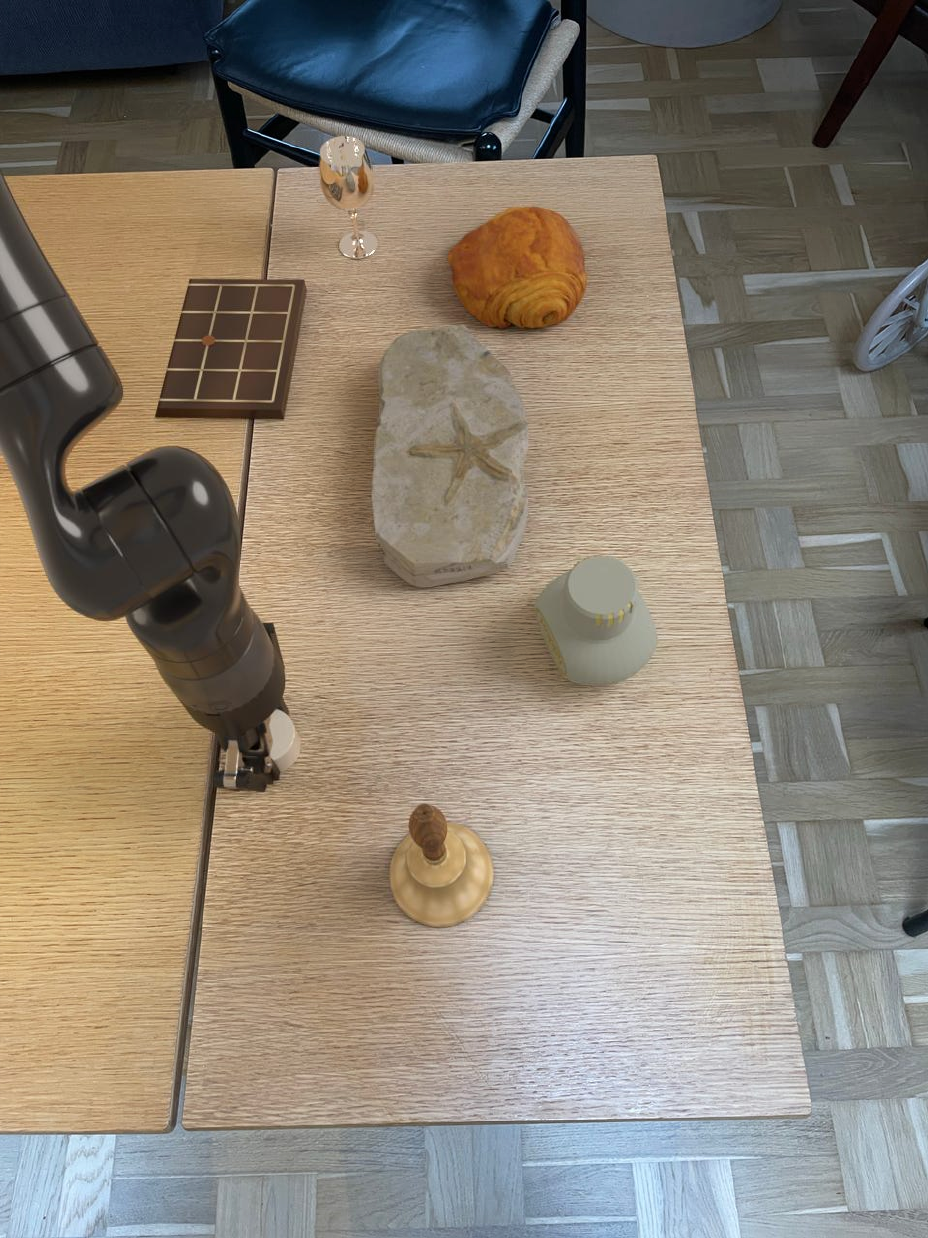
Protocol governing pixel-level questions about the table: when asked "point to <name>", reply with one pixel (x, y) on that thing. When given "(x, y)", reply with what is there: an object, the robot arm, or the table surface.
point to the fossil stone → (448, 459)
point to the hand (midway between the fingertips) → (272, 745)
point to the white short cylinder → (284, 740)
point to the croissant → (520, 269)
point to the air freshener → (596, 622)
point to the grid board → (234, 349)
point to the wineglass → (348, 188)
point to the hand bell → (440, 870)
